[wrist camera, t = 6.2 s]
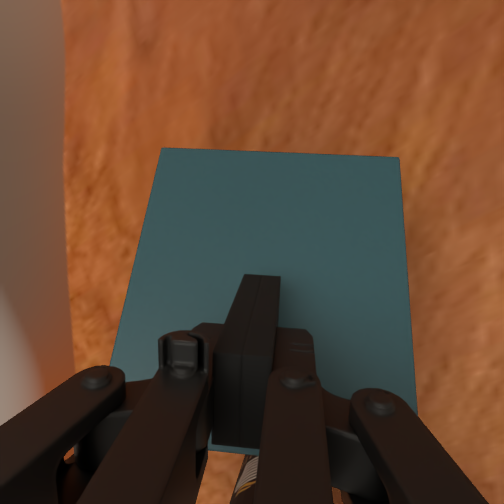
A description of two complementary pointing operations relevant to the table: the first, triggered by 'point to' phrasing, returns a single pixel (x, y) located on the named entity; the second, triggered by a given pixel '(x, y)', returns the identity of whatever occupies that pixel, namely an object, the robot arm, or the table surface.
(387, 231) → the lid
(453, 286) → the table surface
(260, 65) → the table surface
